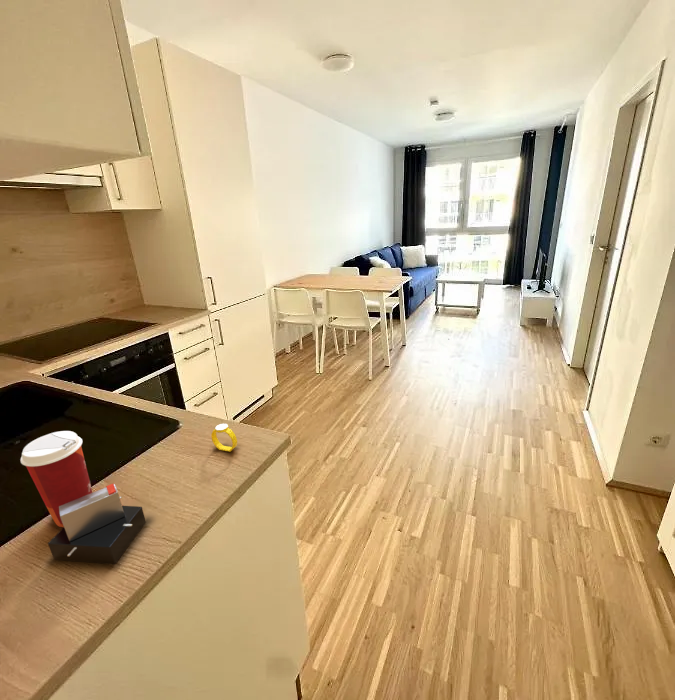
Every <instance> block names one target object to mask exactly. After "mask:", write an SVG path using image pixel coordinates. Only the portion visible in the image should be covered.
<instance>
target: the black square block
mask: <svg viewBox="0 0 675 700" xmlns="http://www.w3.org/2000/svg"><path fill="white" fill-rule="evenodd" d="M119 497H120V500H121V499H122V498H123V496H120V495H119ZM122 507H123V511H124V514H125V516H124V517H122V518H120V519H118V520H116V521H114V522H111V523H109V524H107V525H105V526H103V527H101V528H98V529H96V530H94V531H92V532H90V533H88V534H85V535H83V536H81V537H79V538H77V539H75V540H72V541H69V539H68V536H67V533H66V531H65V528H64V527H62V529H61V530H60V531H58V532H57V533H56V534H55V535H54V536H53V538H52V539H50V540H49V542H48V543H47V545H48V548H49V550H50V552H51V555H52V557H53V561H58V562H59V561H60V562H74V563H75V562H76V563H90V564H106V565H116V564H117V563H118V561H119V560H120V559H121V557H122V556H123V555H124V553H125V551H127V549H128V548H129V547H130V545H131V543H132V542H133V541H134V540H135V538H136V537H137V536H138V534H139V533H140V532H141V530H142V529H143V527H144V526H145V524H146V523H147V521H146V518H145V514H144V510H143V506H137V505H122Z"/></svg>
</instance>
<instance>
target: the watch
mask: <svg viewBox="0 0 675 700" xmlns="http://www.w3.org/2000/svg"><path fill="white" fill-rule="evenodd" d="M217 433H219V434H221V433H225V434H226V435H227V436H228V437H229V438H230V440H231V442H232V445H231V446H228V445H223V444H222V443H221V442H220V440H219V438H218V435H217ZM210 436H211V441H212V443H213V445H214V446H215V448H217V449H218V450H219V451H225V452H232V451H233V450H234V449H235V448H236V447H237V445H238V439H237V436H236V434H235V432H234V431H233V430H232V429H231V428H229V424H228V423H220V424H218V425H216V426H215V428H214V429H213V430H212V432H211V434H210Z"/></svg>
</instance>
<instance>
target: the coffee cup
mask: <svg viewBox="0 0 675 700" xmlns="http://www.w3.org/2000/svg"><path fill="white" fill-rule="evenodd" d="M82 445H83V438H81V437H80V436H78V434H77V433H76V432H74V431H71V430H60V431H54V432H51V433H47V434H45V435H42V436H40V437H37V438H36V439H34V440H32V441H30V442H29V443H27V444H26V445H25V446H24V447H23V449H22V452H21V457H20V459H19V460H20V464H21V465H22V466H25V467H26V469H27V471H28V474H29V475H30V477H31V479H32V481H33V483H34V486H35V488H36V489H37V491H38V493H39V495H40V497H41V499H42V501H43V503H44V505H45V507H46V509H47V511H48V513H49V514H50V517H51V518H52V520H53V522H54V524H55V525H56V526H57V527H59V528H64V526H63V523H62V520H61V518H60V512H59V506H61V505H64V504H66V503H69V502H71V501H73V500H76V499H78V498H81V497H83V496H86V495H88V494H91V493H93V489H92V485H91V480H90V476H89V472H88V468H87V464H86V461H85V456H84V452H83V448H82Z"/></svg>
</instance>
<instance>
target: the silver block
mask: <svg viewBox="0 0 675 700" xmlns="http://www.w3.org/2000/svg"><path fill="white" fill-rule="evenodd" d="M122 506H123V504H122V502H121V499H120V493H119V491H118V488H117V485H116V483H111V484H107V485H106V486H105V487H103V488H100V489H99V490H96V491H92V493H91V494H88V495H86V496H83V497H81V498H78V499H76V500H73V501H71V502H69V503H66V504H64V505H61V506H59V512H60V518H61V520H62V523H63V526H64V527H63V528H65V531H66V533H67V536H68V539H69V541H72V540H75V539H77V538H79V537H81V536H83V535H85V534H88V533H90V532H92V531H94V530H96V529H98V528H101V527H103V526H105V525H107V524H109V523H111V522H114V521H116V520H118V519H120V518H122V517H124V516H125V514H124V511H123V507H122Z"/></svg>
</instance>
